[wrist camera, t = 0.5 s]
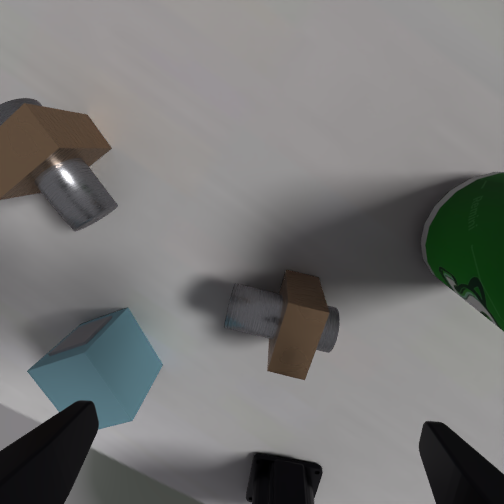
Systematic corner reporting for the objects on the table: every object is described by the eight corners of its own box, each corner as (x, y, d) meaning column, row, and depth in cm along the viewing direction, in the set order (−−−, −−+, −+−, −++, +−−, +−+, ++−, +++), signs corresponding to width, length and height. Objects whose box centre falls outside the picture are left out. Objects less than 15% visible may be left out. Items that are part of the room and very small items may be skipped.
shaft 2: (336, 281, 21) (352, 318, 16) (315, 337, 22) (325, 384, 18) (241, 258, 21) (231, 289, 16) (228, 316, 22) (216, 358, 18)
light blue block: (164, 365, 25) (134, 422, 20) (118, 379, 26) (78, 436, 21) (127, 304, 23) (83, 349, 18) (79, 321, 24) (25, 368, 19)
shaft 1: (22, 141, 19) (-57, 138, 15) (73, 95, 18) (4, 77, 13) (92, 228, 21) (40, 249, 16) (143, 191, 20) (102, 203, 15)
